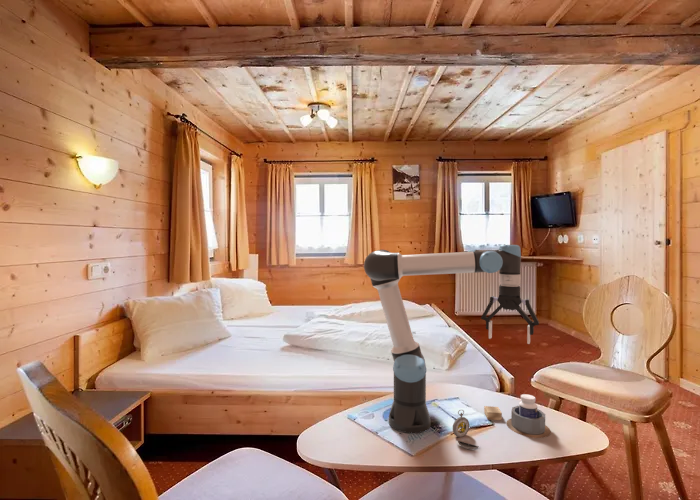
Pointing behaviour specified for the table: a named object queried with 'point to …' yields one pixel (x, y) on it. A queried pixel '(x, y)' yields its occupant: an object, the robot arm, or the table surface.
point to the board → (545, 434)
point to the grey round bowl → (528, 422)
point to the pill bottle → (528, 406)
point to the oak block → (492, 413)
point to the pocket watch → (462, 430)
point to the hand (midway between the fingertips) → (509, 340)
